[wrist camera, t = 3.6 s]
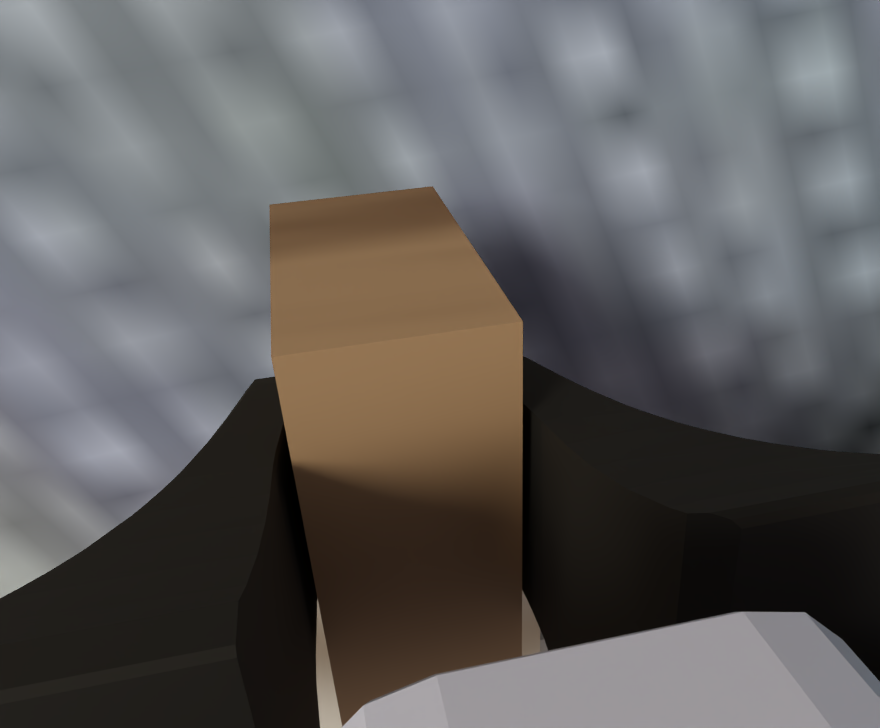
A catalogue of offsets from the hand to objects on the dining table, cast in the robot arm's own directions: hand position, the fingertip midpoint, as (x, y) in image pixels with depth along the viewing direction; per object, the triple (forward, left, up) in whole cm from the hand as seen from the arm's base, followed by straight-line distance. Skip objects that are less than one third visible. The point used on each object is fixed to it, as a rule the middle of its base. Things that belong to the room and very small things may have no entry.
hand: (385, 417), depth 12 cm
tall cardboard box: (0, -3, -2) cm, 3 cm away
